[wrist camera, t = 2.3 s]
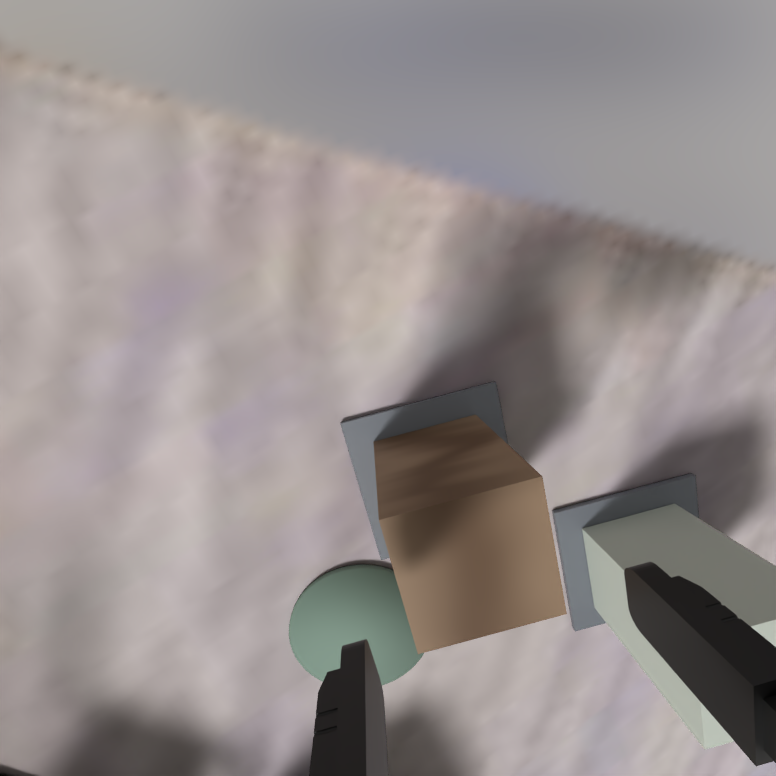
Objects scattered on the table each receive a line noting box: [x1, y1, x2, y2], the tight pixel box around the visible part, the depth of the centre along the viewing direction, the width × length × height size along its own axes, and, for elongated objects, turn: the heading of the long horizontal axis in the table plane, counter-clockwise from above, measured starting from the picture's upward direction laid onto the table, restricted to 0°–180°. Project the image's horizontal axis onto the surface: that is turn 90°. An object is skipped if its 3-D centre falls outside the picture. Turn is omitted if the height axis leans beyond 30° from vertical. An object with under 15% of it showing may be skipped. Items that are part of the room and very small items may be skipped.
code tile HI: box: [552, 473, 699, 631], centre depth 24 cm, size 9×9×1 cm
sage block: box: [582, 504, 776, 749], centre depth 20 cm, size 6×6×8 cm
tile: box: [341, 382, 508, 560], centre depth 22 cm, size 9×9×1 cm
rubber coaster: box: [289, 564, 424, 685], centre depth 24 cm, size 9×9×1 cm
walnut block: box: [373, 415, 567, 654], centre depth 18 cm, size 6×6×8 cm
